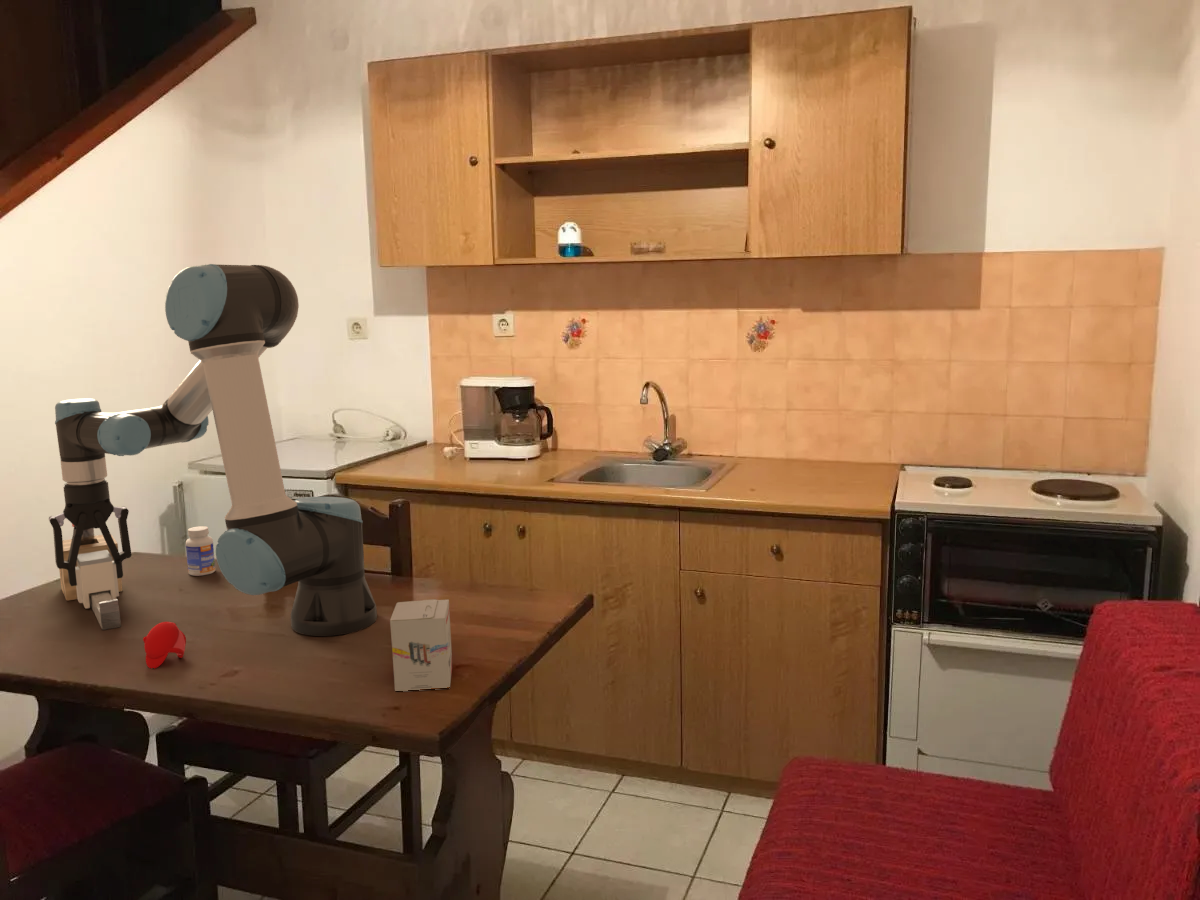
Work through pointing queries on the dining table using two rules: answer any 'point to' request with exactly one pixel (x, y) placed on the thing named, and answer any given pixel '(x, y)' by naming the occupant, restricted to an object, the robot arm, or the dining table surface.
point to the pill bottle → (200, 552)
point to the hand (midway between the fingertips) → (98, 597)
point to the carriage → (96, 574)
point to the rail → (105, 609)
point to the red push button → (87, 537)
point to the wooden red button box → (67, 589)
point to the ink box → (421, 645)
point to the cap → (163, 643)
